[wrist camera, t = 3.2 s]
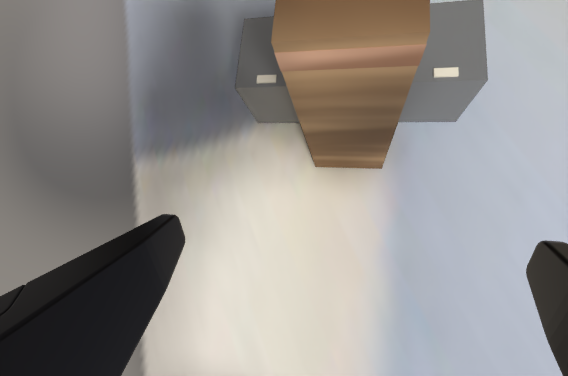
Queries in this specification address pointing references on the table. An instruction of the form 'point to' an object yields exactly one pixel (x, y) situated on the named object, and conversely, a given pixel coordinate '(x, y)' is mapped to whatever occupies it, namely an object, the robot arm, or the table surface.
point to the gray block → (426, 84)
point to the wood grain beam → (349, 72)
